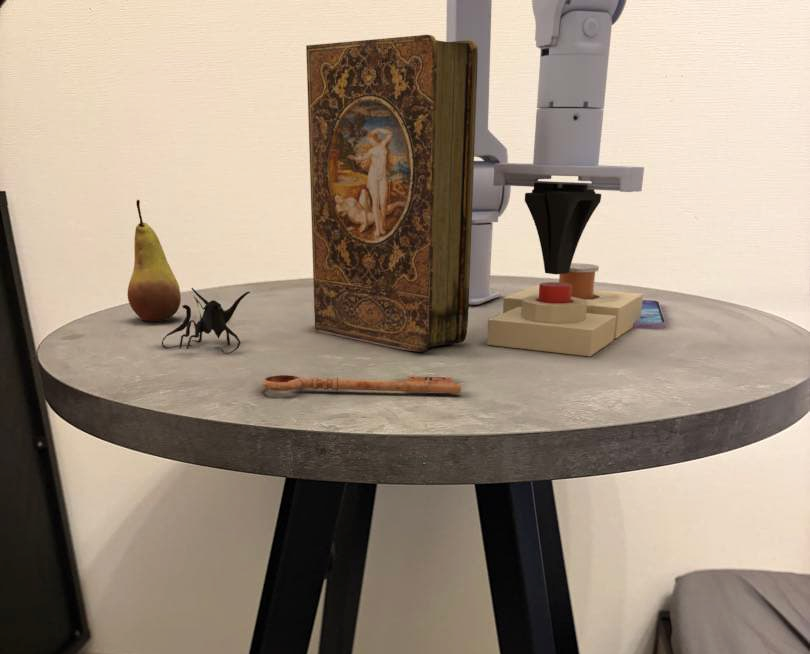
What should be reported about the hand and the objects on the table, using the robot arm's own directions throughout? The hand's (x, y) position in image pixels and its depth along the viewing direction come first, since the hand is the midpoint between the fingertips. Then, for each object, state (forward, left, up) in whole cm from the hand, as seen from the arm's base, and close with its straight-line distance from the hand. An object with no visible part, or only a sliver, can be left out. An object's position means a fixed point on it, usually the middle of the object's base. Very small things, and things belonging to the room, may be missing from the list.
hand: (556, 273), depth 80 cm
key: (-7, -24, -6) cm, 26 cm away
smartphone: (+3, +19, -7) cm, 20 cm away
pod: (-1, +10, -6) cm, 12 cm away
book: (-15, -6, -7) cm, 17 cm away
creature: (-27, -18, -7) cm, 33 cm away
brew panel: (0, 0, -6) cm, 6 cm away
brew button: (0, 0, -3) cm, 3 cm away
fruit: (-40, -10, -7) cm, 42 cm away
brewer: (-1, +10, -6) cm, 12 cm away
